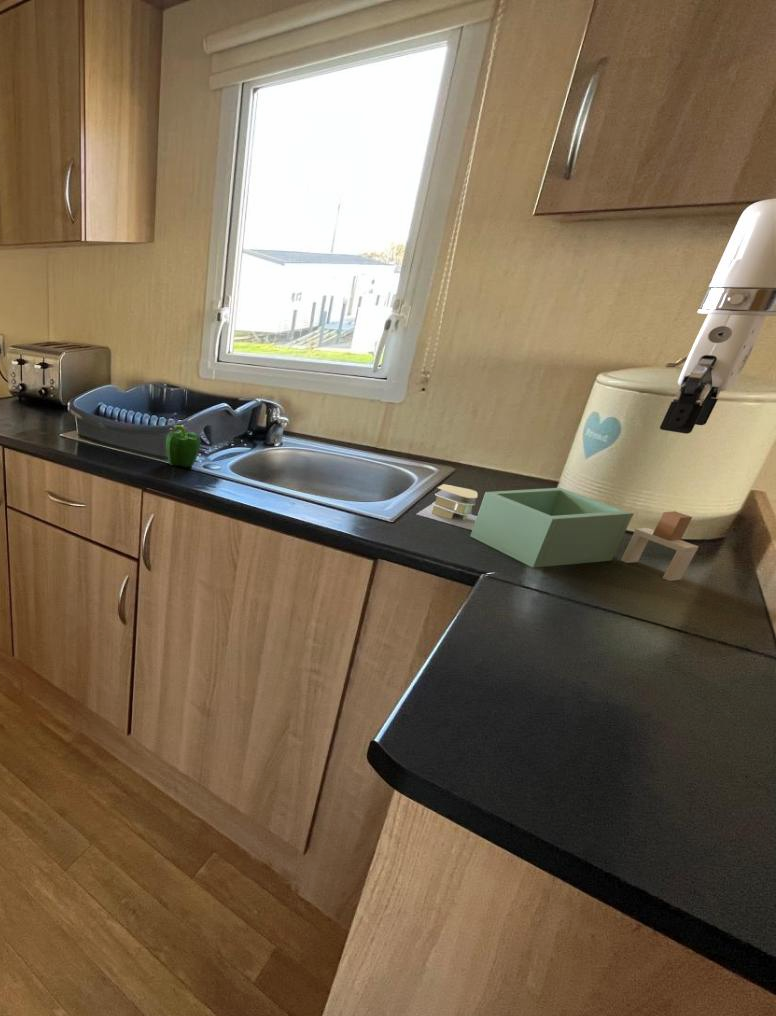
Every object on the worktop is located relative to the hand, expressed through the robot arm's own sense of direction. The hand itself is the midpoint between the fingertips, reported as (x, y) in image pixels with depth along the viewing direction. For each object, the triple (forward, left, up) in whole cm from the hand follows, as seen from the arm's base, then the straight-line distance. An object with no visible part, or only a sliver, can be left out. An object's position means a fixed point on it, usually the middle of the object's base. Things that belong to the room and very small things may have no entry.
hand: (682, 427), depth 81 cm
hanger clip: (-5, +1, -24) cm, 24 cm away
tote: (+6, -9, -24) cm, 26 cm away
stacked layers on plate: (+10, -24, -24) cm, 35 cm away
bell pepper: (+52, -64, -24) cm, 85 cm away
